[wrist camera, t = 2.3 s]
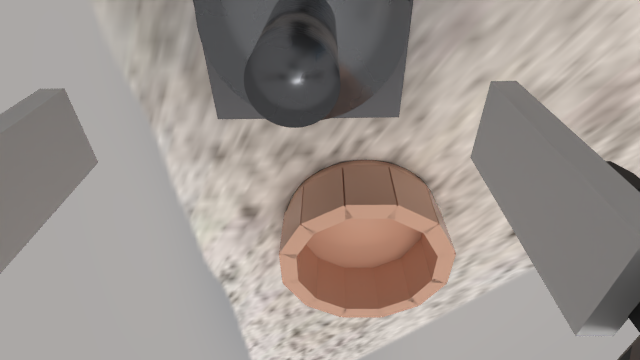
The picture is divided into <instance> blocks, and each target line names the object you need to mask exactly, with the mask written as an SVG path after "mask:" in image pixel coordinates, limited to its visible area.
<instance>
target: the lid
mask: <svg viewBox="0 0 640 360" xmlns="http://www.w3.org/2000/svg"><path fill="white" fill-rule="evenodd" d="M410 11H411V9H410V0H195V14H196V20H197V27H198V31H199V35H200V38H201V42H202V45H203V47H204V50H205V52H206V55H207V57H208V58H209V60H210V62H211V64H212V66H213V68H214V69H215V70H216V72H217V73H218V75H219V76H220V78H221V79H222V80H223V81H224V82H225V83H226V85H227V86H228V87H229V88H230V89H231V90H232V91H233V92H234V93H235V94H237V95H238V96H239V97H240V98H241V99H243V100H244V101H246V102H247V103H248V104H250V105H252V106H253V107H254V108H255V110H256V111H257V112H258V113H259V114H260V115H261V116H263V117H264V118H265V119H267V120H269V121H270V122H272V123H275V124H277V125H281V126H285V127H294V128H296V127H304V126H308V125H312V124H314V123H316V122H318V121H320V120H324V119H329V118H333V117H336V116H339V115H342V114H344V113H347V112H349V111H351V110H353V109H355V108H356V107H358V106H360V105H361V104H363V103H364V102H366V101H367V100H368V99H370V98H371V97H372V96H373V95H374V94H375V93H376V92H377V91H378V90H379V89H380V88H381V87H382V86H383V85H384V84H385V82H386V81H387V80H388V79H389V77H390V76H391V74H392V73H393V71H394V69H395V68H396V66H397V64H398V62H399V60H400V58H401V55H402V53H403V50H404V47H405V44H406V41H407V36H408V31H409V26H410Z"/></svg>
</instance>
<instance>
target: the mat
mask: <svg viewBox="0 0 640 360" xmlns="http://www.w3.org/2000/svg"><path fill="white" fill-rule="evenodd" d="M193 2H194V7H195V0H193ZM412 6H413V0H410V9H411V11H410V23H411V15H412ZM409 31H410V26H409ZM409 31H408V36H407V41H406V44H405V47H404V50H403V53H402V55H401V58H400V60H399V62H398V64H397V66H396V68H395V69H394V71H393V73H392V74H391V76H390V77H389V79H388V80H387V81H386V82H385V84H384V85H383V86H382V87H381V88H380V89H379V90H378V91H377V92H376V93H375V94H374V95H373V96H372V97H371V98H370V99H368V100H367V101H366V102H364V103H363V104H361V105H360V106H358V107H356V108H355V109H353V110H351V111H349V112H347V113H344V114H342V115H339V116H336V117H333V118H367V117H399V112H400V104H401V96H402V88H403V80H404V72H405V63H406V55H407V47H408V39H409ZM203 50H204V47H203ZM204 55H205V59H206V64H207V69H208V74H209V79H210V83H211V88H212V93H213V98H214V102H215V107H216V112H217V117H218V119H265V118H264V117H263V116H261V115H260V114H259V113H258V112H257V111H256V110H255V108H254V107H253V106H252V105H250V104H248V103H247V102H246V101H244V100H243V99H241V98H240V97H239V96H238V95H237V94H235V93H234V92H233V91H232V90H231V89H230V88H229V87H228V86H227V85H226V83H225V82H224V81H223V80H222V79H221V78H220V76H219V75H218V73H217V72H216V70H215V69H214V68H213V66H212V64H211V62H210V60H209V58H208V57H207V55H206V52H205V50H204Z"/></svg>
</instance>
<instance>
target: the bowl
mask: <svg viewBox="0 0 640 360" xmlns="http://www.w3.org/2000/svg"><path fill="white" fill-rule="evenodd" d="M455 255H456V252H455V250H454V247H453V244H452V241H451V239H450V236H449V233H448V230H447V228H446V225H445V222H444V219H443V217H442V214H441V212H440V210H439V208H438V206H437V204H436V202H435V200H434V198H433V195H432V193H431V191H430V190H429V188H428V187H427V185H426V184H425V183H424V182H423V181H422V180H421V179H420V178H419V177H417V176H416V175H415V174H413V173H412V172H410V171H408V170H407V169H405V168H402V167H400V166H397V165H394V164H391V163H387V162H381V161H374V160H358V161H349V162H343V163H340V164H336V165H333V166H330V167H328V168H325V169H323V170H321V171H319V172H317V173H316V174H314V175H312V176H311V177H310V178H308V179H307V180H306V181H305V182H304V183H303V184H302V185H301V186H300V187H299V188H298V189H297V190H296V192H295V193H294V195H293V197H292V198H291V200H290V203H289V206H288V209H287V210H286V212H285V214H284V222H283V229H282V236H281V244H280V251H279V258H280V266H281V273H282V281H283V284H284V285H285V286H286V287H287V288H288V289H289V290H290V291H291V292H293V293H294V294H295V295H296V296H297V297H298V298H299V299H300V300H301V301H302V302H303V303H304V304H305V305H307V306H309V307H312V308H315V309H318V310H321V311H324V312H327V313H330V314H333V315H336V316H339V317H381V316H382V317H384V316H388V315H391V314H394V313H397V312H401V311H404V310H407V309H410V308H413V307H417V306H419V305H421V304H422V303H423V302H424V301H426V300H427V299H428V298H429V297H431V296H432V295H433V294H434V293H436V292H437V291H438V290H439V289H441V288H442V287H443V286H444V285H445V284H446V283H447V282H448V278H449V275H450V272H451V268H452V265H453V262H454V259H455Z"/></svg>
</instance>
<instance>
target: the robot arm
mask: <svg viewBox="0 0 640 360" xmlns="http://www.w3.org/2000/svg"><path fill="white" fill-rule="evenodd" d="M471 159H472V161H473V163H474V164H475V166H476V168H477V169H478V171H479V173H480V174H481V176H482V178H483V180H484V181H485V183H486V185H487V186H488V188H489V190H490V191H491V193H492V195H493V197H494V198H495V200H496V202H497V203H498V205H499V207H500V208H501V210H502V212H503V214H504V215H505V217H506V219H507V220H508V222H509V224H510V225H511V227H512V229H513V231H514V232H515V234H516V236H517V237H518V239H519V241H520V242H521V244H522V246H523V247H524V249H525V251H526V253H527V254H528V256H529V258H530V259H531V261H532V263H533V264H534V266H535V268H536V270H537V271H538V273H539V275H540V276H541V278H542V280H543V281H544V283H545V285H546V287H547V288H548V290H549V292H550V293H551V295H552V297H553V298H554V300H555V302H556V304H557V305H558V307H559V308H560V310H561V312H562V314H563V315H564V317H565V319H566V320H567V322H568V324H569V326H570V327H571V329H572V331H573V332H574V334H575V336H614V335H615V334H616V332H617V331H618V330H619V329H620V328H621V327H622V325H623V324H624V323H625V321H626V320H627V319H628V318H629V319H630V320H631V321H632V323H633V324H634V326H635V327H636V328H637V329H638V331H639V332H640V178H638V177H637V176H636V175H635V174H633V173H632V172H630V171H628V170H626V169H624V168H622V167H620V166H618V165H617V164H615V163H613V162H611V161H605V160H603V159H602V158H601V157H600V156H599V155H598V154H597V153H596V152H595V151H593V150H592V149H591V148H590V147H589V146H588V145H587V144H586V143H585V142H583V141H582V140H581V139H580V138H579V137H578V136H577V135H576V134H575V133H574V132H572V131H571V130H570V129H569V128H568V127H567V126H566V125H565V124H564V123H562V122H561V121H560V120H559V119H558V118H557V117H556V116H555V115H554V114H552V113H551V112H550V111H549V110H548V109H547V108H546V107H545V106H544V105H542V104H541V103H540V102H539V101H538V100H537V99H536V98H535V97H534V96H532V95H531V94H530V93H529V92H528V91H527V90H526V89H525V88H524V87H522V86H521V85H520V84H519V83H518V82H517V81H491V83H490V87H489V91H488V94H487V98H486V102H485V105H484V109H483V113H482V117H481V120H480V124H479V128H478V132H477V135H476V139H475V143H474V146H473V150H472V154H471ZM97 163H98V161H97V159H96V157H95V154H94V152H93V150H92V148H91V146H90V144H89V141H88V139H87V137H86V135H85V133H84V131H83V128H82V126H81V124H80V122H79V120H78V117H77V115H76V113H75V111H74V109H73V106H72V104H71V102H70V100H69V98H68V95H67V93H66V91H65V89H39V90H37V91H36V92H34V93H33V94H31V95H30V96H28V97H27V98H25V99H23V100H22V101H20V102H19V103H17V104H16V105H14V106H13V107H11V108H9V109H8V110H6V111H5V112H4V113H2V114H0V273H1V272H2V271H3V270H4V269H5V268H6V266H7V265H8V264H9V263H10V262H11V261H12V260H13V259H14V258H15V256H16V255H17V254H18V253H19V252H20V251H21V250H22V248H23V247H24V246H25V245H26V244H27V243H28V242H29V240H30V239H31V238H32V237H33V236H34V235H35V234H36V232H37V231H38V230H39V229H40V228H41V227H42V226H43V224H44V223H45V222H46V221H47V220H48V219H49V218H50V217H51V215H52V214H53V213H54V212H55V211H56V210H57V208H58V207H59V206H60V205H61V204H62V203H63V202H64V201H65V199H66V198H67V197H68V196H69V195H70V194H71V193H72V192H73V190H74V189H75V188H76V187H77V186H78V185H79V184H80V182H81V181H82V180H83V179H84V178H85V177H86V176H87V174H88V173H89V172H90V171H91V170H92V169H93V168H94V167H95V165H96V164H97ZM618 360H640V335H639V336H638V337H637V339H636V340H635V341H634V342H633V343H632V344H631V345H630V346H629V347H628V348H627V350H626V351H625V352H624V353H623V354H622V355H621V356H620V357H619V359H618Z"/></svg>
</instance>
